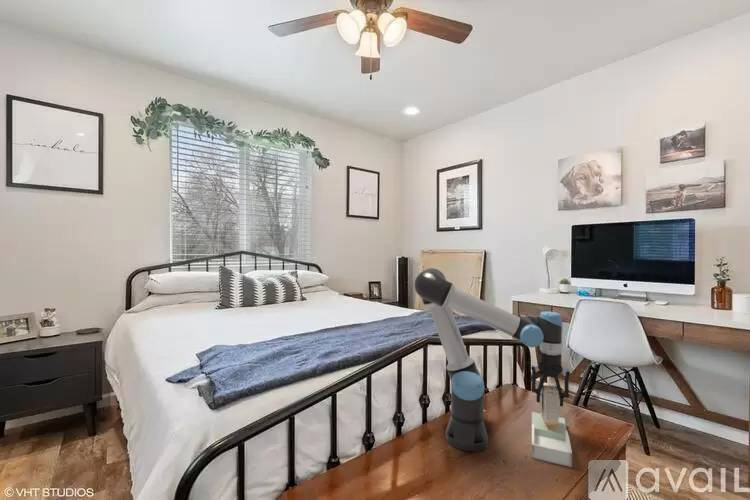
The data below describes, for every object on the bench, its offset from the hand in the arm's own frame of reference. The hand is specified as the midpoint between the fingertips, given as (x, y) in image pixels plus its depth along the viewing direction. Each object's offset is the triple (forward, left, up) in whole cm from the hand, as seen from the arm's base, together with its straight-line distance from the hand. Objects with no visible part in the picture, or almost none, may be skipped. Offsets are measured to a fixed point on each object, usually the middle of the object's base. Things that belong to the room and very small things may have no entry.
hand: (549, 412), depth 135 cm
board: (0, +2, -8) cm, 8 cm away
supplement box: (0, 0, -3) cm, 3 cm away
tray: (0, -13, -8) cm, 15 cm away
